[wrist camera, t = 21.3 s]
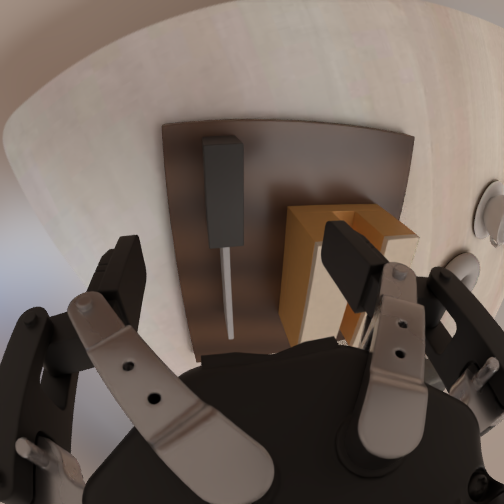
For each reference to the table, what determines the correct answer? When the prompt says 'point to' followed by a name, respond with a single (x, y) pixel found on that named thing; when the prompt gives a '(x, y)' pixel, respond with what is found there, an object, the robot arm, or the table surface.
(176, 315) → the table surface
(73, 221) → the table surface
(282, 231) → the board
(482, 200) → the teacup
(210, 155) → the kitchen blade
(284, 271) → the orange u-shaped channel
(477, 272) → the donut
